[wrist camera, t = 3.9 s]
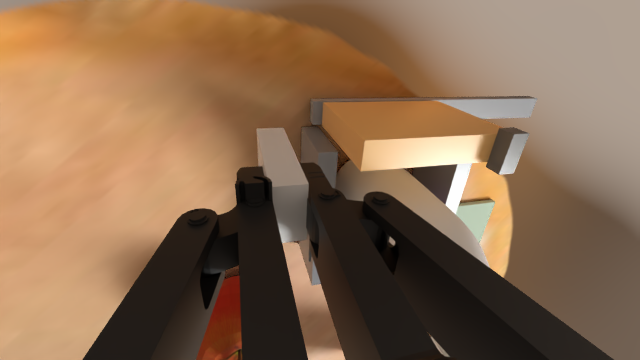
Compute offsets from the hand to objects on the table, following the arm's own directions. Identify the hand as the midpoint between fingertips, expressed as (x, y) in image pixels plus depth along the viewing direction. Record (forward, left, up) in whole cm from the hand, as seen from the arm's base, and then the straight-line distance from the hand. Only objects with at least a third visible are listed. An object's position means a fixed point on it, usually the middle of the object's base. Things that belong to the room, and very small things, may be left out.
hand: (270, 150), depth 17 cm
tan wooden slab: (+11, 0, -8) cm, 13 cm away
